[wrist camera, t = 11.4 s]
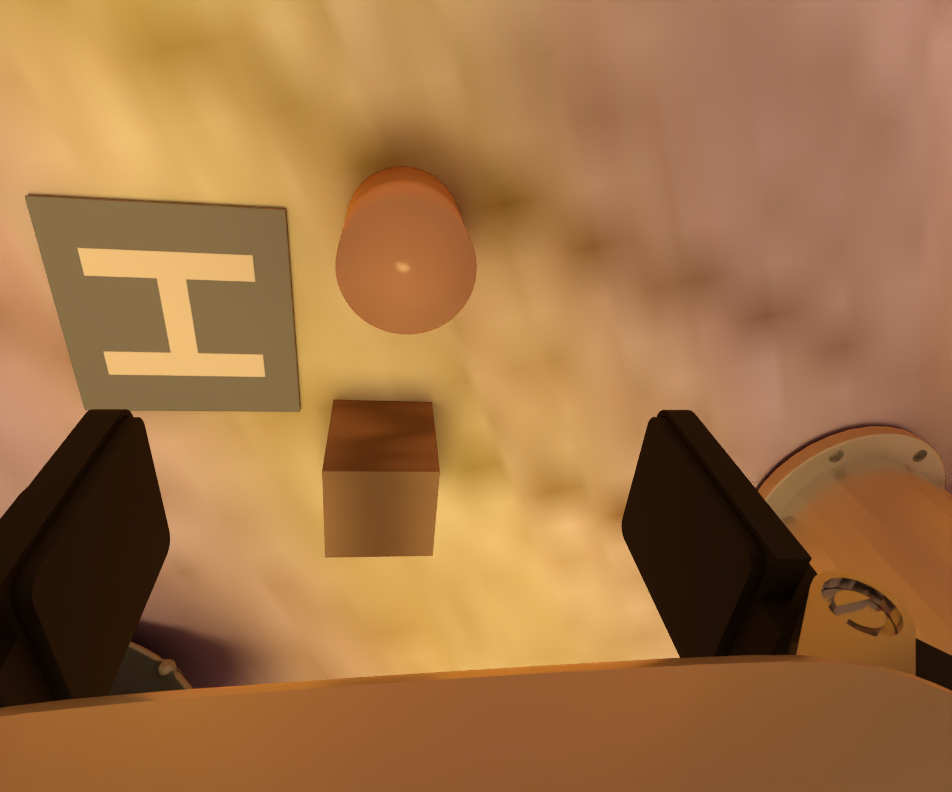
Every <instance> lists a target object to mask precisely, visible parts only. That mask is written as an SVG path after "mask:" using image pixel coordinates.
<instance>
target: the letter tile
mask: <svg viewBox="0 0 952 792" xmlns="http://www.w3.org/2000/svg"><path fill="white" fill-rule="evenodd" d="M25 199H26V203H27V207H28V210H29V214H30V217H31V221H32V224H33V228H34V231H35V235H36V238H37V242H38V246H39V249H40V253H41V256H42V260H43V263H44V267H45V270H46V274H47V277H48V281H49V285H50V288H51V292H52V295H53V299H54V302H55V306H56V309H57V313H58V316H59V320H60V324H61V327H62V331H63V334H64V338H65V341H66V345H67V348H68V352H69V355H70V359H71V363H72V366H73V370H74V373H75V377H76V380H77V384H78V387H79V391H80V394H81V398H82V402H83V405H84V409H85V410H91V409H127V410H129V411H265V412H300V409H301V407H300V393H299V379H298V366H297V352H296V338H295V325H294V311H293V297H292V283H291V270H290V256H289V242H288V228H287V215H286V208H268V207H250V206H231V205H213V204H194V203H176V202H157V201H138V200H120V199H101V198H83V197H64V196H46V195H26V196H25Z"/></svg>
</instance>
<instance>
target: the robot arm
mask: <svg viewBox="0 0 952 792" xmlns="http://www.w3.org/2000/svg"><path fill="white" fill-rule="evenodd" d="M945 483H946V482H945V468H944V466H943V463H942V460H941V458H940V456H939V455H938V454H937V453H936V451H935V450H934V449H933V448H932V447H931V446H930V445H928V444H927V443H926V442H924V441H923V440H922V439H920V438H919V437H918V436H916V435H914V434H912V433H910V432H908V431H906V430H903V429H898V428H894V427H889V426H868V427H862V428H856V429H850V430H847V431H843V432H840V433H837V434H834V435H831V436H828V437H826V438H824V439H822V440H819V441H817V442H815V443H813V444H811V445H809V446H807V447H806V448H804V449H803V450H801V451H799V452H798V453H796V454H795V455H793V456H792V457H790V458H789V459H788V460H787V461H786V462H784V463H783V464H782V465H781V466H779V467H778V468H777V469H776V470H775V471H774V472H773V473H772V474H771V475H770V476H769V477H768V479H767V480H766V481H765V482H764V483H763V484H762V486H761V487H760V489H759V490H758V491H757V490H756V488H755V487H754V486H753V485H752V484H751V482H750V481H749V480H748V479H747V477H746V476H745V475H744V474H743V472H742V471H741V470H740V469H739V468H738V466H737V465H736V464H735V463H734V461H733V460H732V459H731V458H730V456H729V455H728V454H727V453H726V452H725V450H724V449H723V448H722V447H721V445H720V444H719V443H718V442H717V440H716V439H715V438H714V437H713V436H712V434H711V433H710V432H709V431H708V429H707V428H706V427H705V426H704V424H703V423H702V422H701V421H700V419H699V418H698V417H697V416H696V415H695V413H693V412H692V411H690V410H662V411H660V412H659V413H658V415H657V417H653V418H651V419H650V420H649V423H648V426H647V429H646V433H645V437H644V440H643V444H642V448H641V452H640V455H639V459H638V463H637V467H636V470H635V474H634V478H633V481H632V485H631V489H630V493H629V496H628V500H627V504H626V508H625V511H624V515H623V519H622V533H623V537H624V540H625V542H626V544H627V546H628V548H629V550H630V552H631V554H632V557H633V559H634V561H635V563H636V565H637V567H638V569H639V571H640V574H641V576H642V578H643V580H644V582H645V584H646V586H647V588H648V591H649V593H650V595H651V597H652V599H653V601H654V603H655V605H656V608H657V610H658V612H659V614H660V616H661V618H662V620H663V622H664V624H665V627H666V629H667V631H668V633H669V635H670V637H671V639H672V641H673V644H674V646H675V648H676V650H677V652H678V654H679V656H680V658H668V659H651V660H634V661H617V662H599V663H582V664H565V665H548V666H531V667H515V668H499V669H483V670H467V671H451V672H435V673H420V674H405V675H389V676H374V677H358V678H343V679H329V680H314V681H300V682H285V683H271V684H257V685H242V686H228V687H213V688H199V689H184V690H172V691H161V692H149V693H137V694H125V695H113V696H108V694H109V692H110V689H111V687H112V685H113V682H114V680H115V677H116V675H117V673H118V670H119V668H120V665H121V663H122V661H123V658H124V656H125V654H126V651H127V649H128V646H129V644H130V642H131V639H132V637H133V634H134V632H135V630H136V627H137V625H138V622H139V620H140V618H141V615H142V613H143V611H144V608H145V606H146V603H147V601H148V599H149V596H150V594H151V591H152V589H153V587H154V584H155V582H156V580H157V577H158V575H159V572H160V570H161V568H162V565H163V563H164V560H165V558H166V556H167V553H168V550H169V545H170V533H169V528H168V523H167V519H166V515H165V510H164V506H163V502H162V498H161V493H160V489H159V485H158V480H157V476H156V472H155V468H154V463H153V459H152V455H151V450H150V446H149V442H148V437H147V433H146V429H145V425H144V422H143V420H142V419H141V418H140V417H133V415H132V414H131V412H130V411H129V410H127V409H91V410H89V411H88V412H87V413H86V414H85V415H84V416H83V418H82V419H81V420H80V421H79V423H78V424H77V425H76V426H75V428H74V429H73V430H72V432H71V433H70V434H69V435H68V437H67V438H66V439H65V440H64V442H63V443H62V444H61V445H60V447H59V448H58V449H57V451H56V452H55V453H54V454H53V456H52V457H51V458H50V459H49V461H48V462H47V463H46V465H45V466H44V467H43V468H42V470H41V471H40V472H39V473H38V475H37V476H36V477H35V478H34V480H33V481H32V482H31V484H30V485H29V486H28V487H27V488H26V489H25V490H24V491H23V492H22V493H21V494H20V495H19V496H18V497H17V499H16V500H15V501H14V502H13V504H12V505H11V506H10V507H9V509H8V510H7V511H6V512H5V514H4V515H3V516H2V517H1V519H0V792H952V495H951V494H950V493H949V492H948V491H946V490H945V489H944V488H945Z"/></svg>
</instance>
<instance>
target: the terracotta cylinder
mask: <svg viewBox="0 0 952 792" xmlns="http://www.w3.org/2000/svg"><path fill="white" fill-rule="evenodd" d="M336 276H337V280H338V285H339V287H340V290H341V293H342V295H343V296H344V298H345V300H346V302H347V303H348V304H349V306H350V307H351V309H352V310H353V311H354V312H355V313H356V314H357V315H358V316H359V317H361V318H362V319H363V320H364V321H366V322H367V323H369V324H371V325H372V326H374V327H376V328H379V329H381V330H384V331H387V332H391V333H396V334H418V333H424V332H427V331H431V330H433V329H436V328H438V327H440V326H442V325H443V324H445V323H447V322H448V321H450V320H451V319H452V318H453V317H454V316H456V315H457V314H458V313H459V312H460V310H461V309H462V308H463V307H464V305H465V304H466V302H467V301H468V299H469V297H470V295H471V292H472V290H473V287H474V283H475V278H476V257H475V252H474V248H473V245H472V243H471V240H470V238H469V235H468V233H467V230H466V228H465V225H464V223H463V220H462V218H461V215H460V212H459V210H458V207H457V205H456V202H455V200H454V198H453V196H452V195H451V193H450V192H449V190H448V189H447V188H446V186H445V185H444V184H443V183H442V182H441V181H439V180H438V179H437V178H436V177H434V176H433V175H431V174H429V173H427V172H425V171H423V170H420V169H416V168H412V167H391V168H387V169H383V170H381V171H379V172H376V173H374V174H373V175H371V176H370V177H368V178H367V179H366V180H365V181H364V182H363V183H362V184H361V185H360V186H359V187H358V188H357V190H356V191H355V193H354V194H353V196H352V198H351V200H350V203H349V206H348V210H347V214H346V218H345V222H344V226H343V230H342V234H341V238H340V242H339V246H338V250H337V256H336Z"/></svg>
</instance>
